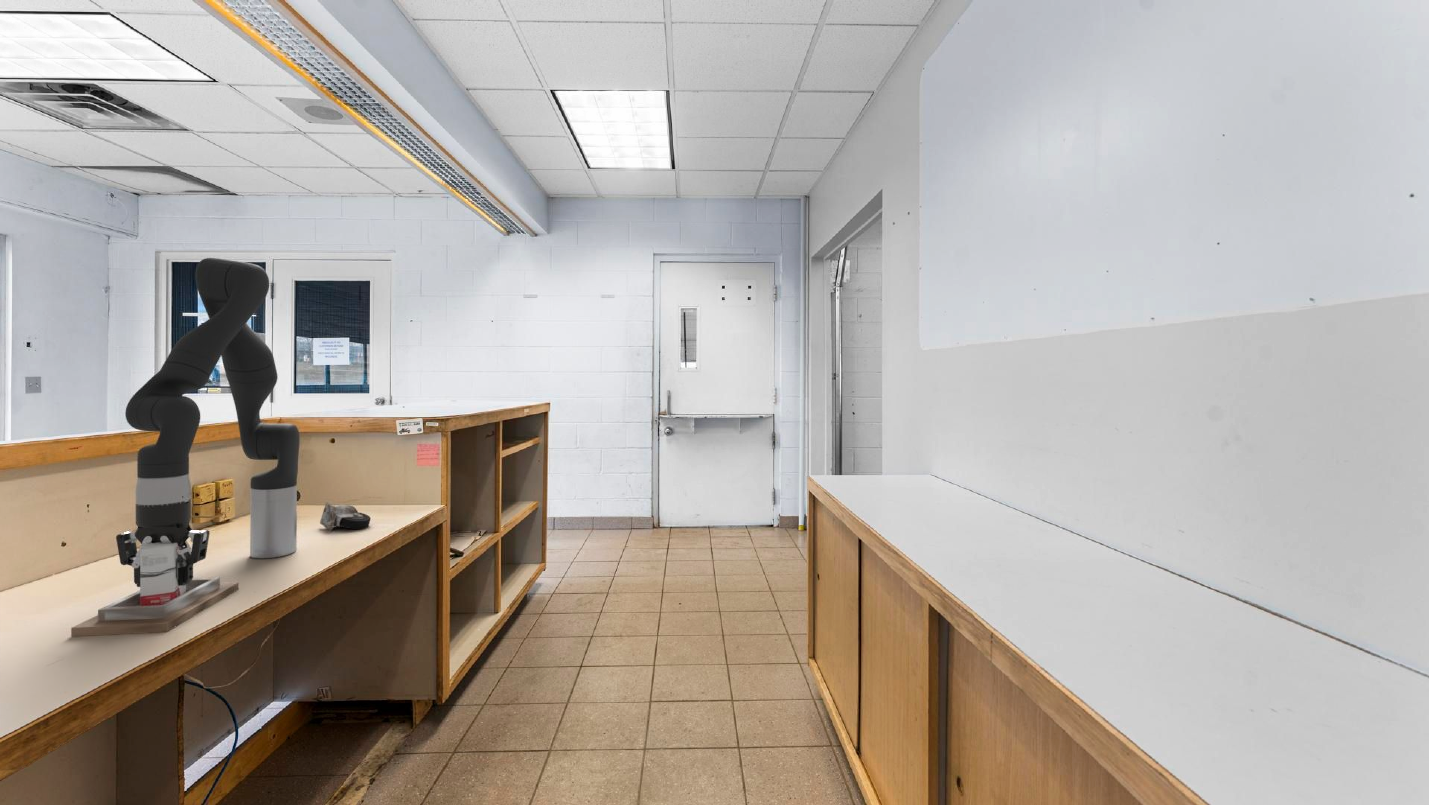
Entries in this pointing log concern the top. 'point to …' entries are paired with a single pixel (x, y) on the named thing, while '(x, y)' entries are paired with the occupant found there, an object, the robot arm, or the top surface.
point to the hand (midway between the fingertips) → (164, 584)
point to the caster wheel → (343, 517)
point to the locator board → (155, 610)
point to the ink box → (159, 574)
